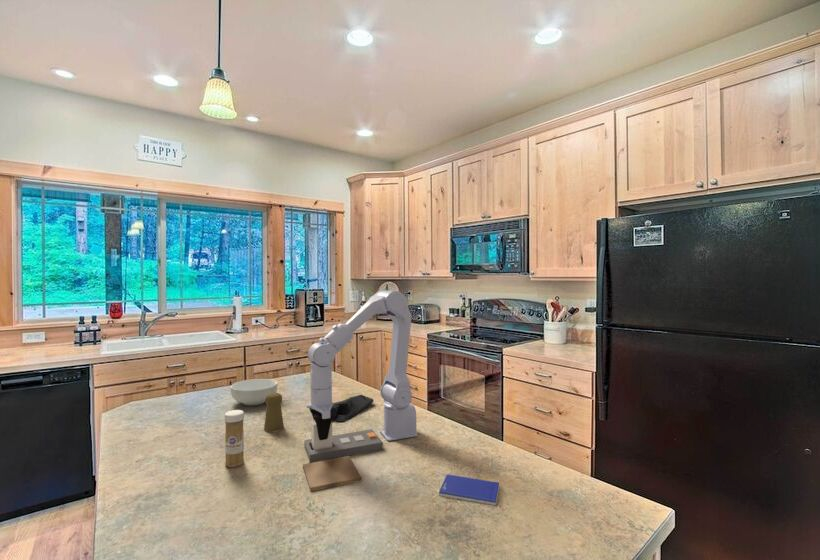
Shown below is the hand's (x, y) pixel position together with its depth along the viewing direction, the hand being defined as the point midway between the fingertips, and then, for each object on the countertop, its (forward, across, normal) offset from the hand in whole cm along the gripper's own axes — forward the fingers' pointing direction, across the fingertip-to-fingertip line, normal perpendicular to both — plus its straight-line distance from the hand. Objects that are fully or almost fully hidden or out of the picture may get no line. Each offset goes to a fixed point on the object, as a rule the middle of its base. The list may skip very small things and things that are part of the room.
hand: (321, 436), depth 110 cm
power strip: (+4, 0, +6) cm, 7 cm away
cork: (+5, -23, -11) cm, 26 cm away
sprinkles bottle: (+5, -2, -22) cm, 23 cm away
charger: (+3, 0, 0) cm, 3 cm away
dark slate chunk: (+5, -31, +14) cm, 34 cm away
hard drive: (+5, +33, +27) cm, 43 cm away
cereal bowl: (+5, -53, -16) cm, 56 cm away
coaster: (+4, +13, 0) cm, 14 cm away
